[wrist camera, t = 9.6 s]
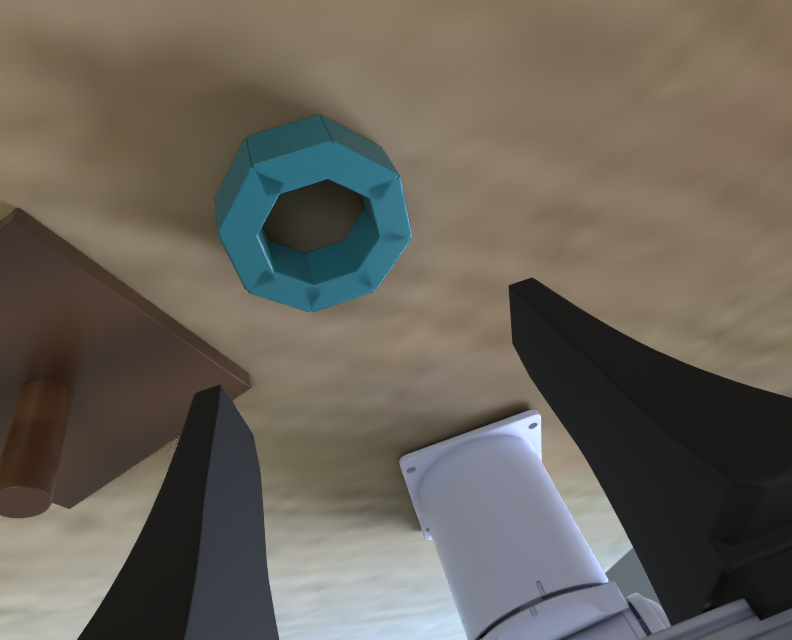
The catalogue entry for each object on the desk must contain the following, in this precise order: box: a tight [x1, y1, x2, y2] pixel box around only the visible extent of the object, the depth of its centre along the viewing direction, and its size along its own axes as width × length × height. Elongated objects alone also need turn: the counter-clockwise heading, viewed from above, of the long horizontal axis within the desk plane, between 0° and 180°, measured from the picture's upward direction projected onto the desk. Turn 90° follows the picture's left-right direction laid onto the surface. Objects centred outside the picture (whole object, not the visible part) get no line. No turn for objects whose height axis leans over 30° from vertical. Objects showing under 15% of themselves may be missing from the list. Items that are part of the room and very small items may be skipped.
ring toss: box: [0, 208, 251, 518], centre depth 18 cm, size 10×10×5 cm
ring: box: [215, 115, 412, 312], centre depth 18 cm, size 6×6×2 cm
